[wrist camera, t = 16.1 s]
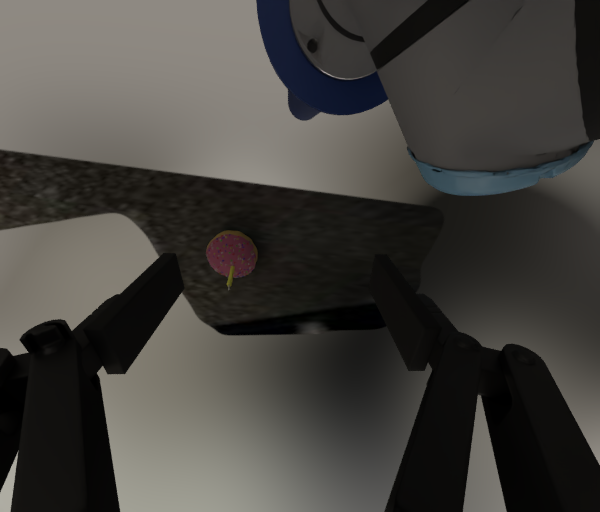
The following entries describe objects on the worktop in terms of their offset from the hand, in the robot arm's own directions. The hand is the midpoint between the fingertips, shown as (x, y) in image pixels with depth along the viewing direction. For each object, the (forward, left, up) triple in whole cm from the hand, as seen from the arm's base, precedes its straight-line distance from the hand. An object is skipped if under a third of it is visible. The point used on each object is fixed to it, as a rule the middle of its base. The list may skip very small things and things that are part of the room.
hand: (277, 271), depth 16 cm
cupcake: (+9, +11, -28) cm, 31 cm away
